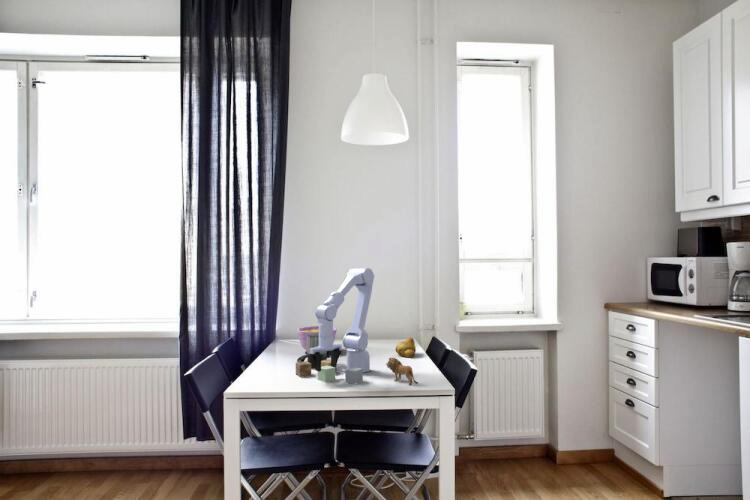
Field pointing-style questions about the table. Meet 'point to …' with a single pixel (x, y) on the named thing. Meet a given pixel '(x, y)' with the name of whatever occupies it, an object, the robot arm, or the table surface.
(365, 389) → the table surface
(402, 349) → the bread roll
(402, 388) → the table surface
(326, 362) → the oak block
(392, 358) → the lion figurine
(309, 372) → the walnut block
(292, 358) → the table surface
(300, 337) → the bowl of food
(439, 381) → the table surface
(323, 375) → the sage painted block
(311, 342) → the milk frother
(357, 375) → the slate grey block
